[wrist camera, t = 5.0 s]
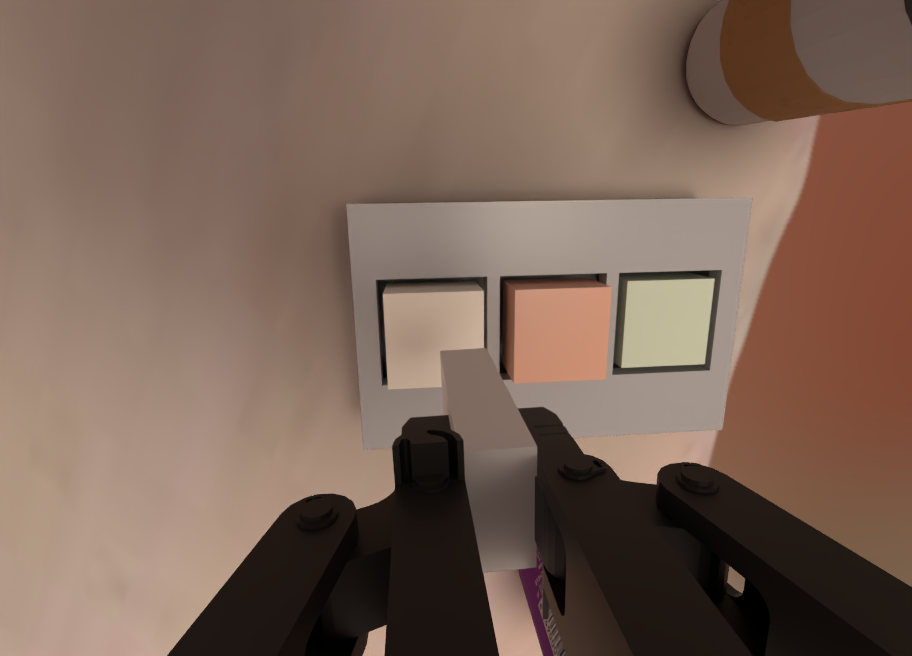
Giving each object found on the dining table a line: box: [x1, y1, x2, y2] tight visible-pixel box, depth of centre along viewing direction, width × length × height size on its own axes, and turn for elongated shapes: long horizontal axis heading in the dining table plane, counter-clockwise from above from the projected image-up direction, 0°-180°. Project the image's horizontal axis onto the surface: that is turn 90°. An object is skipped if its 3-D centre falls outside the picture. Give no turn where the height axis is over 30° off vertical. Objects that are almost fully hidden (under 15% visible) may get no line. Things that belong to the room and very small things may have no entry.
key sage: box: [613, 271, 715, 368], centre depth 25 cm, size 4×4×3 cm
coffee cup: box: [686, 0, 912, 125], centre depth 18 cm, size 8×8×15 cm
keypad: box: [346, 198, 753, 450], centre depth 25 cm, size 12×19×5 cm, turn 91°
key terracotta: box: [502, 278, 612, 384], centre depth 23 cm, size 4×4×3 cm
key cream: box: [383, 281, 484, 390], centre depth 23 cm, size 4×4×3 cm
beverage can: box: [519, 547, 566, 656], centre depth 26 cm, size 7×7×12 cm
